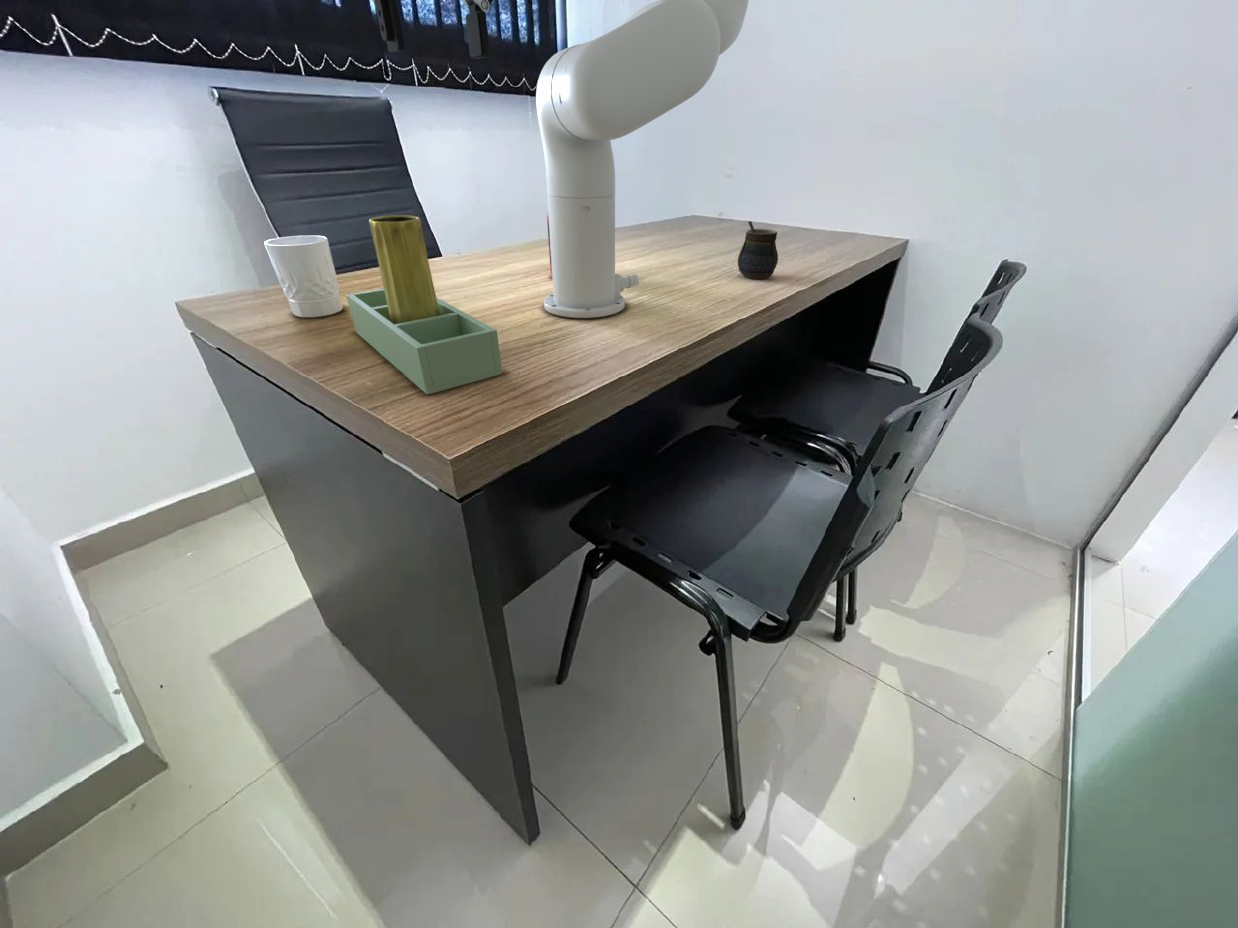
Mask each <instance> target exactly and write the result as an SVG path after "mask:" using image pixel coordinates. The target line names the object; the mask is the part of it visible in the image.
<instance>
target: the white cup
mask: <svg viewBox="0 0 1238 928" xmlns="http://www.w3.org/2000/svg"><path fill="white" fill-rule="evenodd" d="M263 244H264V247H265V249H266V252H267V255H268V257H269V260H270V263H271V265H272V267H273V269H274V272H275V275H276V277H277V280H278V281H279V285H280V287H281V289H282V292H283V294H284V296H285V298H287V302H288V304H289V306H290V310H291V312H292V314H293V315H294V316H295V317H298V318H299V317H300V318H308V319H309V318H321V317H327V316H331V315H335V314H337V313H339V312H341V311H342V310H343V309H344V306H343V301H342V297H341V294H340V287H339V286H340V285H339V282H338V279H337V278H338V277H337V272H336V269H335V264H334V260H333V257H332V256H333V255H332V251H331V247H330V243H329V239H328V238H327V237H326V236H323V235H291V236H281V237H276V238H271V239H268V240H266V241H264V242H263Z"/></svg>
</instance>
